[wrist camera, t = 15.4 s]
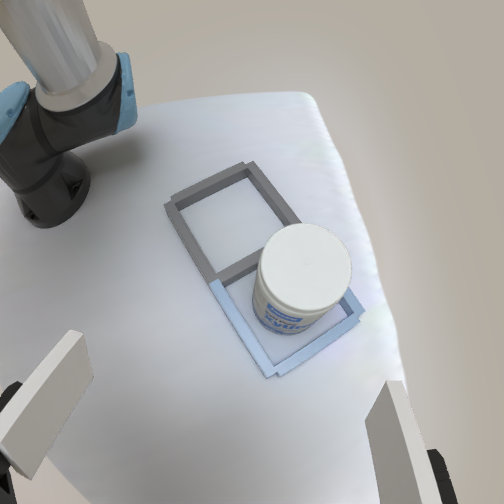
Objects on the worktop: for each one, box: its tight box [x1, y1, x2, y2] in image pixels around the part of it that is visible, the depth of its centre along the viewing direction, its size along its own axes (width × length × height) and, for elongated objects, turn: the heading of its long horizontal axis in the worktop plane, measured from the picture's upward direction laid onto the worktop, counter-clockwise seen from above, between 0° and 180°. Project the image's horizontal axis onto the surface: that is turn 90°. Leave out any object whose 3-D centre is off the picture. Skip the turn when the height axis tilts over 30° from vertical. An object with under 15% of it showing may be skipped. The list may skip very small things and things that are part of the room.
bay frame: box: [164, 161, 365, 378], centre depth 45 cm, size 30×16×2 cm, turn 32°
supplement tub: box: [252, 223, 352, 335], centre depth 37 cm, size 10×10×15 cm
